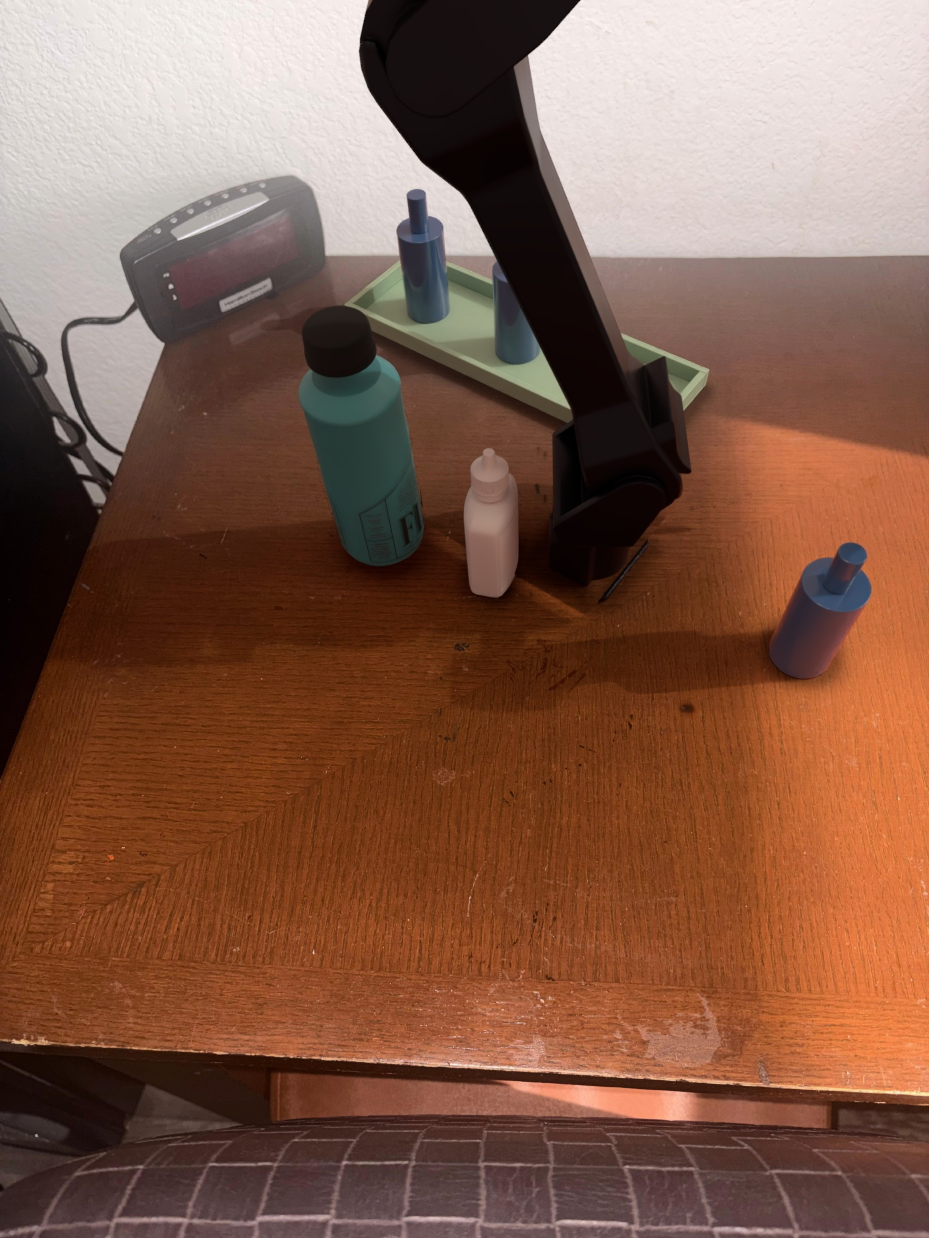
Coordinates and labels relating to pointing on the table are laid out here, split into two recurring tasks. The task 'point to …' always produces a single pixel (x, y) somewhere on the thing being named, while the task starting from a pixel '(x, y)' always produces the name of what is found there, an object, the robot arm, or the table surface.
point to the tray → (491, 341)
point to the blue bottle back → (423, 262)
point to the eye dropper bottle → (491, 525)
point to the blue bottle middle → (510, 324)
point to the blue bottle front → (821, 612)
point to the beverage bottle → (360, 437)
